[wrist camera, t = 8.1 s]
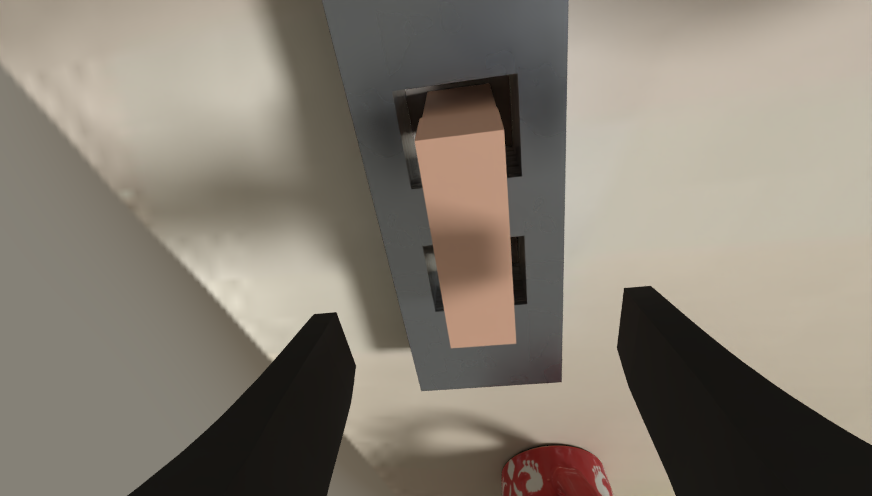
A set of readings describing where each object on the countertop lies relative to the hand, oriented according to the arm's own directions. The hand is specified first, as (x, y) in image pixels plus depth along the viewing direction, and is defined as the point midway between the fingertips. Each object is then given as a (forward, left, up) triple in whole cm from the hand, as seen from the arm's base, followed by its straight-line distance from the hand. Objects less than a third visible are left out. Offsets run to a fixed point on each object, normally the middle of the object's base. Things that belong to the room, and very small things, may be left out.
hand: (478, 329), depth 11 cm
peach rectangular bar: (0, 0, -9) cm, 9 cm away
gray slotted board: (0, 0, -9) cm, 9 cm away
